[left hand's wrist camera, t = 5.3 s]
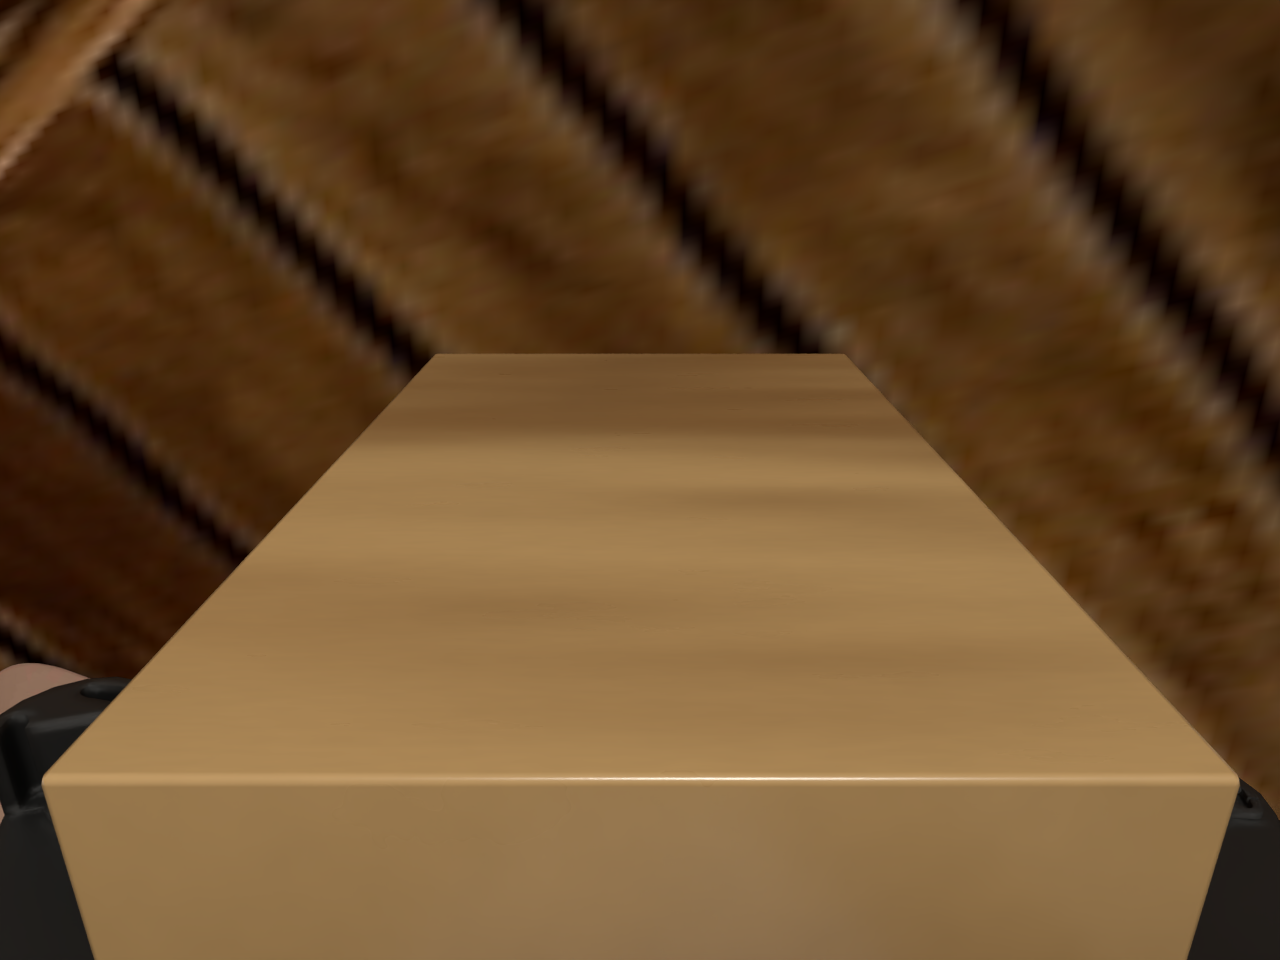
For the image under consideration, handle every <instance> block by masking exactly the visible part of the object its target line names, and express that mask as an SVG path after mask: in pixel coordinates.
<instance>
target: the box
mask: <svg viewBox="0 0 1280 960" xmlns="http://www.w3.org/2000/svg"><path fill="white" fill-rule="evenodd" d="M1239 786H1240V782H1239V778H1238V775H1237V774H1236V773H1235V772H1234V770H1233V769H1232V768H1231V767H1230V766H1229V765H1228V764H1227V763H1226V762H1225V761H1224V760H1223V759H1222V758H1221V757H1220V755H1219V754H1218V753H1217V752H1216V751H1215V750H1214V749H1213V748H1212V747H1211V746H1210V745H1209V744H1208V743H1207V742H1206V740H1205V739H1204V738H1203V737H1202V736H1201V735H1200V734H1199V733H1198V732H1197V731H1196V730H1195V729H1194V728H1193V727H1192V725H1191V724H1190V723H1189V722H1188V721H1187V720H1186V719H1185V718H1184V717H1183V716H1182V715H1181V714H1180V713H1179V712H1178V710H1177V709H1176V708H1175V707H1174V706H1173V705H1172V704H1171V703H1170V702H1169V701H1168V700H1167V699H1166V698H1165V697H1164V695H1163V694H1162V693H1161V692H1160V691H1159V690H1158V689H1157V688H1156V687H1155V686H1154V685H1153V684H1152V683H1151V682H1150V680H1149V679H1148V678H1147V677H1146V676H1145V675H1144V674H1143V673H1142V672H1141V671H1140V670H1139V669H1138V668H1137V667H1136V665H1135V664H1134V663H1133V662H1132V661H1131V660H1130V659H1129V658H1128V657H1127V656H1126V655H1125V654H1124V653H1123V652H1122V650H1121V649H1120V648H1119V647H1118V646H1117V645H1116V644H1115V643H1114V642H1113V641H1112V640H1111V639H1110V638H1109V637H1108V635H1107V634H1106V633H1105V632H1104V631H1103V630H1102V629H1101V628H1100V627H1099V626H1098V625H1097V624H1096V623H1095V622H1094V620H1093V619H1092V618H1091V617H1090V616H1089V615H1088V614H1087V613H1086V612H1085V611H1084V610H1083V609H1082V608H1081V607H1080V605H1079V604H1078V603H1077V602H1076V601H1075V600H1074V599H1073V598H1072V597H1071V596H1070V595H1069V594H1068V593H1067V592H1066V590H1065V589H1064V588H1063V587H1062V586H1061V585H1060V584H1059V583H1058V582H1057V581H1056V580H1055V579H1054V578H1053V577H1052V575H1051V574H1050V573H1049V572H1048V571H1047V570H1046V569H1045V568H1044V567H1043V566H1042V565H1041V564H1040V563H1039V562H1038V560H1037V559H1036V558H1035V557H1034V556H1033V555H1032V554H1031V553H1030V552H1029V551H1028V550H1027V549H1026V548H1025V547H1024V545H1023V544H1022V543H1021V542H1020V541H1019V540H1018V539H1017V538H1016V537H1015V536H1014V535H1013V534H1012V533H1011V532H1010V530H1009V529H1008V528H1007V527H1006V526H1005V525H1004V524H1003V523H1002V522H1001V521H1000V520H999V519H998V518H997V517H996V515H995V514H994V513H993V512H992V511H991V510H990V509H989V508H988V507H987V506H986V505H985V504H984V503H983V502H982V500H981V499H980V498H979V497H978V496H977V495H976V494H975V493H974V492H973V491H972V490H971V489H970V488H969V487H968V485H967V484H966V483H965V482H964V481H963V480H962V479H961V478H960V477H959V476H958V475H957V474H956V473H955V472H954V470H953V469H952V468H951V467H950V466H949V465H948V464H947V463H946V462H945V461H944V460H943V459H942V458H941V457H940V455H939V454H938V453H937V452H936V451H935V450H934V449H933V448H932V447H931V446H930V445H929V444H928V443H927V442H926V440H925V439H924V438H923V437H922V436H921V435H920V434H919V433H918V432H917V431H916V430H915V429H914V428H913V427H912V425H911V424H910V423H909V422H908V421H907V420H906V419H905V418H904V417H903V416H902V415H901V414H900V413H899V412H898V410H897V409H896V408H895V407H894V406H893V405H892V404H891V403H890V402H889V401H888V400H887V399H886V398H885V397H884V395H883V394H882V393H881V392H880V391H879V390H878V389H877V388H876V387H875V386H874V385H873V384H872V383H871V382H870V380H869V379H868V378H867V377H866V376H865V375H864V374H863V373H862V372H861V371H860V370H859V369H858V368H857V367H856V365H855V364H854V363H853V362H852V361H851V360H850V359H849V358H848V357H847V356H846V355H845V354H436V355H434V356H433V358H432V359H431V360H430V361H429V362H428V363H427V364H426V365H425V366H424V367H423V368H422V369H421V370H420V371H419V373H418V374H417V375H416V376H415V377H414V378H413V379H412V380H411V381H410V382H409V383H408V384H407V385H406V386H405V388H404V389H403V390H402V391H401V392H400V393H399V394H398V395H397V396H396V397H395V398H394V399H393V400H392V402H391V403H390V404H389V405H388V406H387V407H386V408H385V409H384V410H383V411H382V412H381V413H380V414H379V415H378V417H377V418H376V419H375V420H374V421H373V422H372V423H371V424H370V425H369V426H368V427H367V428H366V429H365V430H364V432H363V433H362V434H361V435H360V436H359V437H358V438H357V439H356V440H355V441H354V442H353V443H352V444H351V446H350V447H349V448H348V449H347V450H346V451H345V452H344V453H343V454H342V455H341V456H340V457H339V458H338V459H337V461H336V462H335V463H334V464H333V465H332V466H331V467H330V468H329V469H328V470H327V471H326V472H325V473H324V474H323V476H322V477H321V478H320V479H319V480H318V481H317V482H316V483H315V484H314V485H313V486H312V487H311V488H310V490H309V491H308V492H307V493H306V494H305V495H304V496H303V497H302V498H301V499H300V500H299V501H298V502H297V503H296V505H295V506H294V507H293V508H292V509H291V510H290V511H289V512H288V513H287V514H286V515H285V516H284V517H283V518H282V520H281V521H280V522H279V523H278V524H277V525H276V526H275V527H274V528H273V529H272V530H271V531H270V532H269V534H268V535H267V536H266V537H265V538H264V539H263V540H262V541H261V542H260V543H259V544H258V545H257V546H256V547H255V549H254V550H253V551H252V552H251V553H250V554H249V555H248V556H247V557H246V558H245V559H244V560H243V561H242V562H241V564H240V565H239V566H238V567H237V568H236V569H235V570H234V571H233V572H232V573H231V574H230V575H229V576H228V578H227V579H226V580H225V581H224V582H223V583H222V584H221V585H220V586H219V587H218V588H217V589H216V590H215V591H214V593H213V594H212V595H211V596H210V597H209V598H208V599H207V600H206V601H205V602H204V603H203V604H202V605H201V606H200V608H199V609H198V610H197V611H196V612H195V613H194V614H193V615H192V616H191V617H190V618H189V619H188V620H187V622H186V623H185V624H184V625H183V626H182V627H181V628H180V629H179V630H178V631H177V632H176V633H175V634H174V635H173V637H172V638H171V639H170V640H169V641H168V642H167V643H166V644H165V645H164V646H163V647H162V648H161V649H160V651H159V652H158V653H157V654H156V655H155V656H154V657H153V658H152V659H151V660H150V661H149V662H148V663H147V664H146V666H145V667H144V668H143V669H142V670H141V671H140V672H139V673H138V674H137V675H136V676H135V677H134V678H133V679H132V681H131V682H130V683H129V684H128V685H127V686H126V687H125V688H124V689H123V690H122V691H121V692H120V693H119V695H118V696H117V697H116V698H115V699H114V700H113V701H112V702H111V703H110V704H109V705H108V706H107V707H106V708H105V710H104V711H103V712H102V713H101V714H100V715H99V716H98V717H97V718H96V719H95V720H94V721H93V722H92V723H91V725H90V726H89V727H88V728H87V729H86V730H85V731H84V732H83V733H82V734H81V735H80V736H79V737H78V739H77V740H76V741H75V742H74V743H73V744H72V745H71V746H70V747H69V748H68V749H67V750H66V751H65V752H64V754H63V755H62V756H61V757H60V758H59V759H58V760H57V761H56V762H55V763H54V764H53V765H52V766H51V767H50V769H49V770H48V771H47V772H46V773H45V774H44V776H43V779H42V789H43V792H44V795H45V799H46V802H47V805H48V808H49V812H50V815H51V818H52V822H53V825H54V828H55V831H56V835H57V838H58V841H59V845H60V848H61V851H62V855H63V858H64V861H65V864H66V868H67V871H68V874H69V878H70V881H71V884H72V888H73V891H74V894H75V897H76V901H77V904H78V907H79V911H80V914H81V917H82V920H83V924H84V927H85V930H86V934H87V937H88V940H89V944H90V947H91V950H92V953H93V957H94V960H1187V957H1188V954H1189V951H1190V948H1191V944H1192V941H1193V938H1194V934H1195V931H1196V928H1197V925H1198V921H1199V918H1200V915H1201V911H1202V908H1203V905H1204V902H1205V898H1206V895H1207V892H1208V888H1209V885H1210V882H1211V879H1212V875H1213V872H1214V869H1215V865H1216V862H1217V859H1218V856H1219V852H1220V849H1221V846H1222V842H1223V839H1224V836H1225V832H1226V829H1227V826H1228V823H1229V819H1230V816H1231V813H1232V809H1233V806H1234V803H1235V800H1236V796H1237V793H1238V790H1239Z"/></svg>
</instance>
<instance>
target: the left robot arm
mask: <svg viewBox="0 0 1280 960" xmlns="http://www.w3.org/2000/svg"><path fill="white" fill-rule="evenodd" d="M131 681H132V679H126V678H121V677H107V678H92V679H84V680H80V681H76V682H72V683H68V684H64V685H60V686H56V687H53V688H50V689H48V690H46V691H43V692H41V693H38V694H36V695H34V696H31V697H29V698H26V699H24V700H22V701H20V702H19V703H17V704H16V705H14V706H13V707H11V708H9V709H8V710H6V711H5V712H3V713H2V714H0V803H1V806H2V809H3V812H4V817H3V819H2V821H1V824H0V960H94V957H93V953H92V950H91V947H90V944H89V940H88V937H87V934H86V930H85V927H84V924H83V920H82V917H81V914H80V911H79V907H78V904H77V901H76V897H75V894H74V891H73V888H72V884H71V881H70V878H69V874H68V871H67V868H66V864H65V861H64V858H63V855H62V851H61V848H60V845H59V841H58V838H57V835H56V831H55V828H54V825H53V822H52V818H51V815H50V812H49V808H48V805H47V802H46V799H45V795H44V792H43V789H42V779H43V776H44V774H45V773H46V772H47V771H48V770H49V769H50V767H51V766H52V765H53V764H54V763H55V762H56V761H57V760H58V759H59V758H60V757H61V756H62V755H63V754H64V752H65V751H66V750H67V749H68V748H69V747H70V746H71V745H72V744H73V743H74V742H75V741H76V740H77V739H78V737H79V736H80V735H81V734H82V733H83V732H84V731H85V730H86V729H87V728H88V727H89V726H90V725H91V723H92V722H93V721H94V720H95V719H96V718H97V717H98V716H99V715H100V714H101V713H102V712H103V711H104V710H105V708H106V707H107V706H108V705H109V704H110V703H111V702H112V701H113V700H114V699H115V698H116V697H117V696H118V695H119V693H120V692H121V691H122V690H123V689H124V688H125V687H126V686H127V685H128V684H129V683H130V682H131ZM1238 778H1239V777H1238ZM1239 782H1240V786H1239V790H1238V793H1237V796H1236V800H1235V803H1234V806H1233V809H1232V813H1231V816H1230V819H1229V823H1228V826H1227V829H1226V832H1225V836H1224V839H1223V842H1222V846H1221V849H1220V852H1219V856H1218V859H1217V862H1216V865H1215V869H1214V872H1213V875H1212V879H1211V882H1210V885H1209V888H1208V892H1207V895H1206V898H1205V902H1204V905H1203V908H1202V911H1201V915H1200V918H1199V921H1198V925H1197V928H1196V931H1195V934H1194V938H1193V941H1192V944H1191V948H1190V951H1189V954H1188V957H1187V960H1280V820H1278V818H1277V815H1276V814H1275V812H1274V811H1273V810H1272V808H1271V807H1270V806H1269V804H1268V803H1267V802H1266V800H1265V799H1264V798H1263V797H1262V795H1261V794H1260V793H1259V792H1257V791H1256V790H1255V789H1253V788H1252V787H1251V786H1249V785H1248V784H1247V783H1245V782H1244V781H1243V780H1241V779H1240V778H1239Z"/></svg>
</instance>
